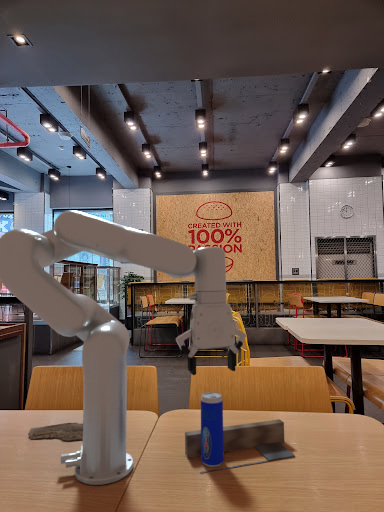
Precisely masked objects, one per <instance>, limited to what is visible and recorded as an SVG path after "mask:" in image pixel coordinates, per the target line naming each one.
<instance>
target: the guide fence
mask: <svg viewBox="0 0 384 512" xmlns="http://www.w3.org/2000/svg"><path fill="white" fill-rule="evenodd" d="M184 442H185V443H184V453H185V456H186V457H187V458H194V457H201V429H198V430H191V431H184ZM283 443H285V422H284V421H283V420H282V419H273V420H265V421H259V422H250V423H243V424H235V425H228V426H223V453H225V452H226V453H227V452H233V451H237V450H238V451H239V450H244V449H250V448H251V449H252V448H255V449H256V450H257V451H258V452H259V454H260V455H261V456H263V457H264V458H265V459H266V460H262V461H256V462H251V463H245V464H238V465H233V466H226V467H221V468H216V469H215V468H214V469H209V470H205V471H203V470H202V471H200V472H199V473H200V474H205V473H211V472H215V471H216V472H217V471H223V470H228V469H234V468H238V467H244V466H251V465H256V464H264V463H268V462H273V461H274V462H275V461H280V460H284V459H289V458H295V457H296V455H295V454H294V453H293V452H292V451H290V449H288V448H287V447H286V446H285V445H284V444H283Z"/></svg>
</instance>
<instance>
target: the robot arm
mask: <svg viewBox="0 0 384 512" xmlns="http://www.w3.org/2000/svg"><path fill="white" fill-rule="evenodd" d="M81 252H87V253H90V254H93V255H96V256H99V257H102V258H105V259H108V260H111V261H115V262H118V263H125V264H134V265H137V266H141V267H144V268H147V269H150V270H154V271H156V272H160V273H163V274H166V275H167V276H169V277H170V278H173V279H185V278H188V277H189V278H190V277H191V278H192V277H194V292H193V293H192V294H189V296H188V298H189V301H193V302H194V304H192V307H191V308H192V309H191V313H190V319H189V320H190V321H189V322H190V323H189V329H188V330H187V331H185V332H183V333H181V334H179V335H178V336H177V337H176V338H175V341H176V343H177V345H178V347H179V349H180V351H182V352H183V353H184V354H185V355H186V356H187V359H186V360H187V371H189V373H190V374H191V375H192V376H196V375H197V357H195V354H196V353H197V352H198V350H209V349H219V348H220V349H222V348H226V349H228V351H227V355H226V357H227V369H228V370H230V371H232V372H236V367H237V360H238V359H237V354H238V353H239V351H240V349H241V348H242V346H243V345H244V342H245V339H246V337H247V334H246V333H245V332H242V331H241V330H238V329H237V328H235V323H234V317H233V312H232V307H231V304H230V303H227V302H228V301H227V276H226V275H227V272H226V270H227V269H226V268H227V267H226V252H225V250H224V248H222V247H219V246H205V247H204V246H203V247H198V248H197V249H192V248H191V247H190V246H189V245H187V244H184V243H182V242H179V241H176V240H173V239H170V238H167V237H164V236H161V235H158V234H155V233H152V232H151V233H150V232H147V231H143V230H140V229H136V228H133V227H128V226H125V225H122V224H119V223H116V222H113V221H110V220H107V219H104V218H101V217H98V216H95V215H92V214H89V213H86V212H83V211H80V210H79V211H78V210H71V209H69V210H65V211H63V212H61V213H60V214H59V215H58V216H57V217H56V218H55V220H54V224H53V229H49V230H47V231H45V232H41V233H38V232H36V231H33V230H30V229H25V228H18V229H17V228H16V229H11V230H9V231H6V232H5V233H4V234H2V236H0V282H1V284H2V285H3V286H4V287H5V289H7V291H9V293H10V294H12V296H14V297H16V298H17V299H18V300H19V301H20V302H21V303H22V304H24V305H25V306H26V308H28V309H29V310H30V311H31V312H32V313H34V314H35V316H37V317H38V318H40V319H41V320H42V321H43V322H44V323H45V324H47V325H48V326H49V327H50V328H51V329H52V330H54V331H55V332H56V334H58V335H61V336H63V337H69V338H71V337H75V336H76V337H77V338H79V340H81V341H82V342H83V345H82V351H81V362H82V364H81V365H82V378H83V380H82V382H83V385H82V386H83V395H82V399H83V400H82V402H83V405H82V407H83V408H82V424H83V440H82V444H81V447H80V449H79V450H76V452H72V453H71V452H66V453H61V454H60V464H61V465H65V468H66V469H67V468H72V467H74V476H75V478H76V479H77V480H78V481H79V482H81V483H83V484H85V485H91V486H98V485H99V486H100V485H107V484H112V483H115V482H118V481H120V480H122V479H124V478H125V477H126V476H128V475H129V474H130V473H131V472H132V470H133V467H134V459H133V457H132V455H131V454H129V453H127V410H128V409H127V408H128V407H127V405H128V404H127V402H128V401H127V398H128V397H127V396H128V395H127V389H128V387H127V385H128V384H127V383H128V381H127V379H128V377H127V352H128V349H129V346H130V342H131V341H130V333H129V331H128V329H127V328H126V326H125V325H124V324H123V323H122V322H121V321H119V320H118V319H117V317H115V316H113V315H112V313H110V312H109V311H108V310H106V309H105V307H103V306H101V305H100V304H99V303H98V302H97V301H95V299H94V298H92V297H89V296H88V295H85V294H82V293H81V294H80V293H74V292H72V291H71V290H70V289H68V288H67V287H66V286H64V285H63V284H62V283H60V281H59V280H58V279H57V278H55V277H54V276H53V275H52V274H50V273H49V272H47V271H46V270H45V269H44V268H47V267H49V266H52V265H54V264H56V263H59V262H61V261H63V260H66V259H68V258H70V257H73V256H75V255H78V254H80V253H81ZM236 336H237V340H236ZM187 339H189V343H190V345H189V346H188V347H187V346H186V344H185V340H187Z"/></svg>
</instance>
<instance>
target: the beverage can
mask: <svg viewBox="0 0 384 512" xmlns="http://www.w3.org/2000/svg"><path fill="white" fill-rule="evenodd" d="M223 401H224V400H223V397H222V394H221V393H219V392H215V391H209V392H208V391H207V392H204V393H202V394H201V397H200V430H201V456H200V460H201V462H202V464H203V465H204V466H206V467H208V468H218V467H220V466H221V465H222V464H223V462H224V458H225V457H224V452H223V427H224V416H223V415H224V406H223V405H224V404H223V403H224V402H223Z"/></svg>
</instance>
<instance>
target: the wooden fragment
mask: <svg viewBox="0 0 384 512" xmlns="http://www.w3.org/2000/svg"><path fill="white" fill-rule="evenodd" d="M27 435H28V438H29V440H30V441H31V440H32V441H33V440H36V439H52V440H53V439H56V440H57V439H60V440H62V441H69V442H70V441H83V423H79V422H66V423H65V422H64V423H58V424H52V425H45V426H39V427H38V426H37V427H31V428H30V429H29V431H28V434H27Z"/></svg>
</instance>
